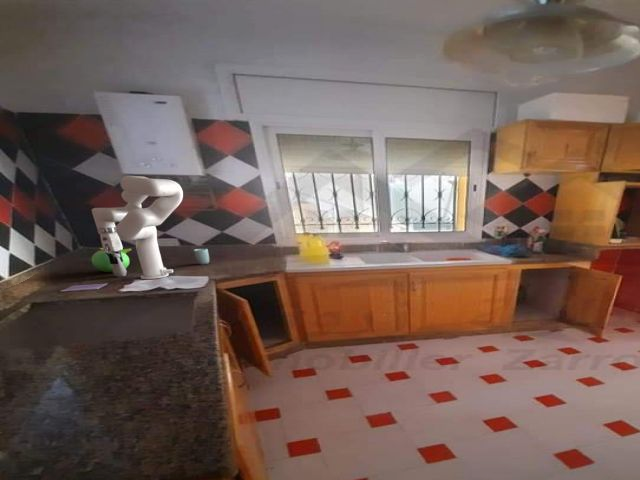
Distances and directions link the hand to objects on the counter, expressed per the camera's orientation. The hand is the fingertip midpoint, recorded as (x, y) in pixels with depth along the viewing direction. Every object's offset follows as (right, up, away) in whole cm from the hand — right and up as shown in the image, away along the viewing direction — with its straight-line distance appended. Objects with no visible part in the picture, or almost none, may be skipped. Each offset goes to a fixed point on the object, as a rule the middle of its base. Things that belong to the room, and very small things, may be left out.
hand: (117, 262), depth 180 cm
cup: (+26, +2, +34) cm, 43 cm away
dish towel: (+4, -15, -21) cm, 26 cm away
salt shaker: (0, -8, +2) cm, 8 cm away
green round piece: (-12, -4, +12) cm, 18 cm away
